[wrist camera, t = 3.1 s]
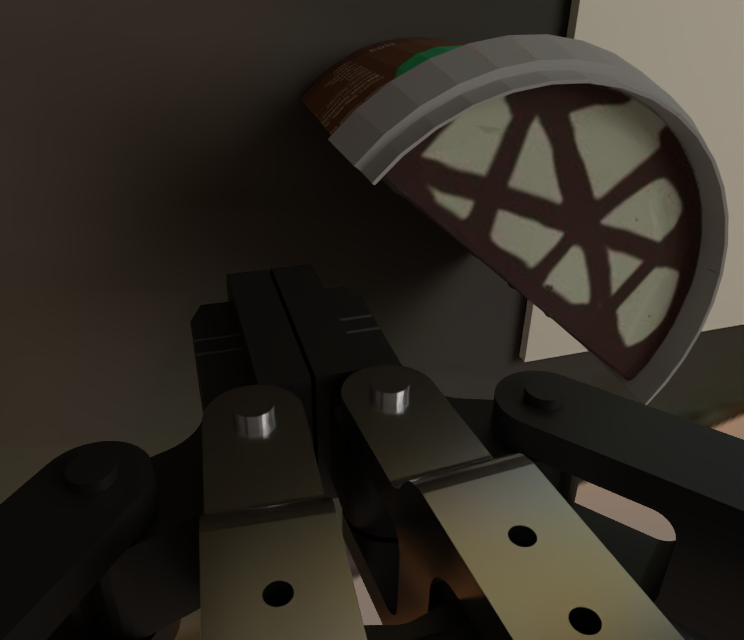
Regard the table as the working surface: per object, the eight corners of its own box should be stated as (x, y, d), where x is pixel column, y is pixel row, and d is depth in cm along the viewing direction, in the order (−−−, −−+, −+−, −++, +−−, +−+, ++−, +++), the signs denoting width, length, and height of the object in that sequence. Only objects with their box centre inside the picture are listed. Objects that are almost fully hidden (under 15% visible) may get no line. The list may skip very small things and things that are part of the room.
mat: (519, 356, 32) (524, 361, 31) (613, -282, 20) (624, -286, 20) (771, 313, 35) (779, 318, 35) (968, -246, 24) (982, -248, 24)
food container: (609, 147, 28) (818, 254, 19) (501, 266, 29) (655, 413, 21) (391, -100, 21) (570, -97, 13) (264, 68, 22) (352, 168, 14)
